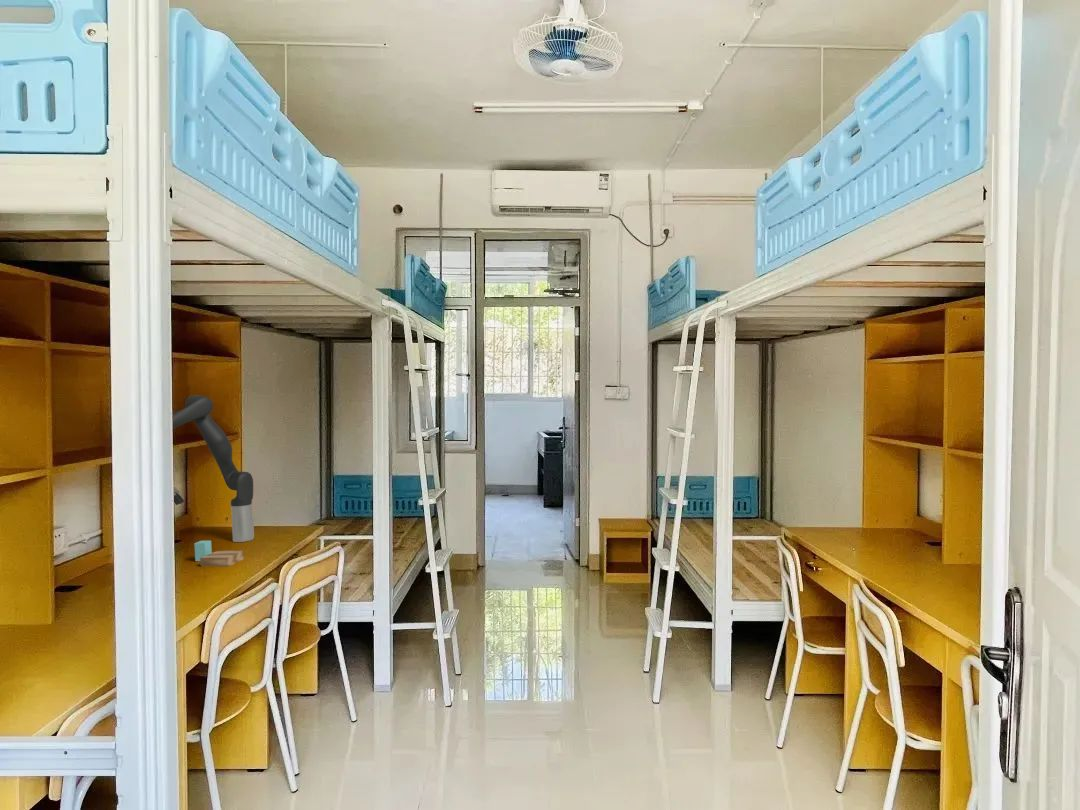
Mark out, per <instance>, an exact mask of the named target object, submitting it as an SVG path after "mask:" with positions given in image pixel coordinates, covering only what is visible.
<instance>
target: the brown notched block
mask: <svg viewBox="0 0 1080 810" xmlns="http://www.w3.org/2000/svg"><path fill="white" fill-rule="evenodd" d="M244 553H245V552H244V550H216V551H214V552H213V551H212V553H211V554H209V555H206V556H204V557H202V558H200V562H199V565H201V566H218V568H223V567H224V568H225V567H230V566H232V565H234V564H237V563H238V562H240V561H242V560H244V559H245V557H244V555H245V554H244Z"/></svg>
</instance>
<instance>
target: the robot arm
mask: <svg viewBox="0 0 1080 810" xmlns="http://www.w3.org/2000/svg"><path fill="white" fill-rule="evenodd" d="M213 410H214V403H213V401H212V399H211V398H209V397H207V396H204V395H198V394H196V395H195V394H193V395H190V396H188V397H187V398H186V399H185V403H184V408H182V409H181V410H177V411H175V412H173V429H172V430H174V429H176V428H178V427H180V426H182V425H184V424H186V423H189V422H191V421H193V422H194V424H195V425H196V427H197V428H198V430H199V432H200V434H201V436H202V438H203V440H204V442H205V443H206V446H207V447H208V450H209V451H210V453H211V455H212V456H213V459H214V460H215V462H216V465H217V467H218V468H219V471H220V472H221V475H222V478H223V480H224V482H225V485H226V487H227V488H228V489H230V490H232V491H236V494H235V495H236V496H235V497H234V498H232V499H231V500H230V512H231V513H230V514H231V533H232V542H234V543H244V542H249V541H252V540H255V539H254V538H255V530H254V529H255V527H254V518H253V503H252V502H253V499H254V478H253V476H252V474H251V473H250V472H248V471H239V470H238V468H237V467H236V465H235V464H234V461H233V446H232V444H231V442H230V440H229V437H228V436H227V434H226V433H225V432H224V430H223V429H222V428H221V427H220V426H219V425H218V424H217V423H216V421H214V420H213V418H212V416H211V415H210V414H211V413H212V411H213ZM184 502H185V499H184V498H183V497H182V496H181V495H180V491H179V490H178V489H177V488H176V486H174V502H173V503H174V504H175V505H176V506H178V505H182V504H183V503H184Z"/></svg>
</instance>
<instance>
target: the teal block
mask: <svg viewBox="0 0 1080 810" xmlns="http://www.w3.org/2000/svg"><path fill="white" fill-rule="evenodd" d="M211 553H213V549H212V540H199V541H197V542H195V543H194V559H195V561H200V558H202V557H204V556H206V555H209V554H211Z"/></svg>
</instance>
